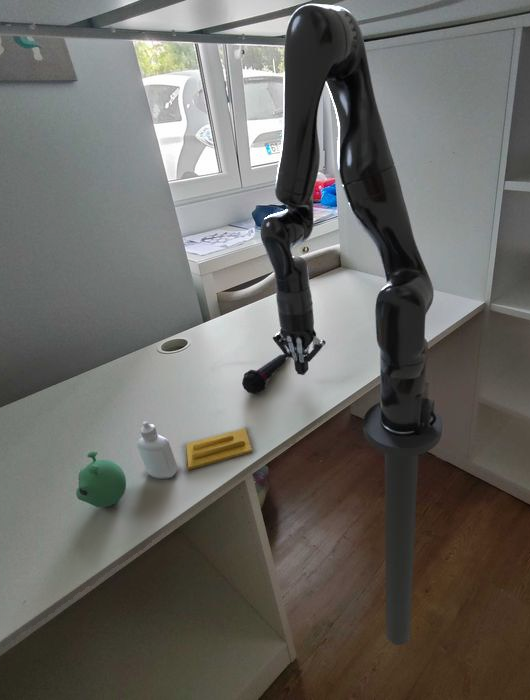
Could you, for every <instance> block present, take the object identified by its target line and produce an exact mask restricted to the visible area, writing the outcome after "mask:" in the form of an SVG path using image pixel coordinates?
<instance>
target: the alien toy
mask: <svg viewBox="0 0 530 700" xmlns="http://www.w3.org/2000/svg"><path fill="white" fill-rule="evenodd" d="M97 455H98V451H95V450H92V451H91V450H90V452H88V454H87V456H86V457H87V458H90V459H92V461H91V462H90V463H88V464H86V465H85V466H84V467H81V468H80V470H79V472H78V475H77V477H78V479H77V480H78V487H77V488H76V489H75V490H76V491H75V495H76V498H77V499H78V500H79V501H82V502H84V503H87V504H89V505H91V506H94V507H97V508H107V507H110V506H112V505H115V504H116V503H118V502H119V501H120V500H121V499H122V497H123V496H124V495H125V492H126V489H127V477H126V474H125V472H124V470H123V468H122V467H121V466H120V465H119V464H118V463H117V462H115V461H113V460H110V459H105V458H102V459H96V456H97Z"/></svg>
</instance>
